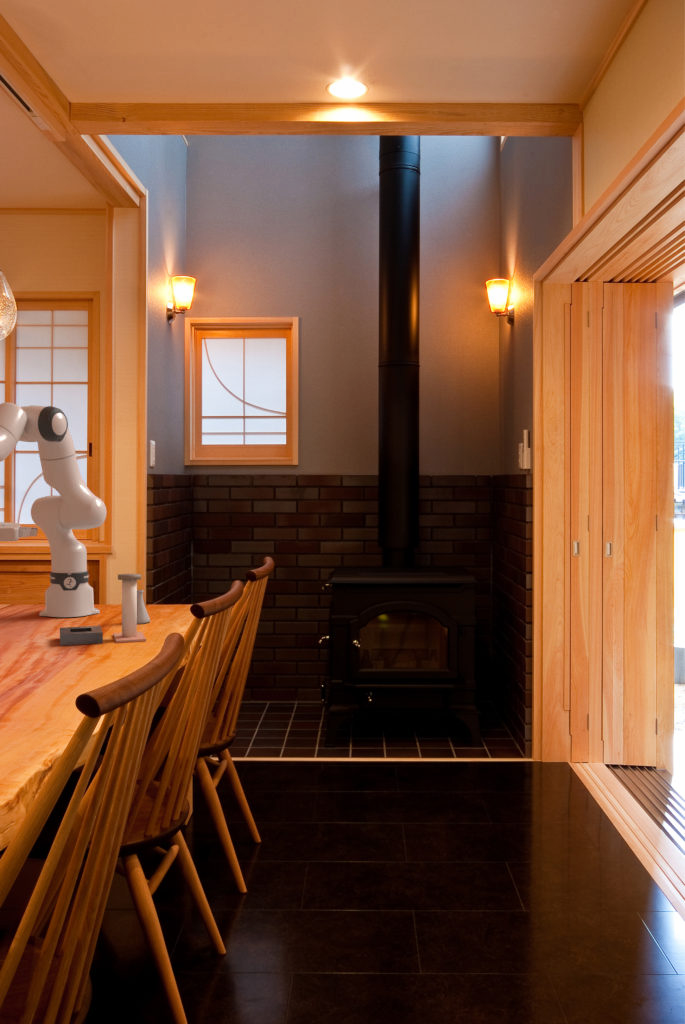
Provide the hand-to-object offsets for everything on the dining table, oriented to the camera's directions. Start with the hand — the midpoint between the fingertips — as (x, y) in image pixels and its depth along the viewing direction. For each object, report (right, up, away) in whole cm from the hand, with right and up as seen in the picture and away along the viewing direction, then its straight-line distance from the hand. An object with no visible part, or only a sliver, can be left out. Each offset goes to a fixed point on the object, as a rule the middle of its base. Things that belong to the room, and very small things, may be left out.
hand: (37, 531), depth 241 cm
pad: (+25, -30, +3) cm, 39 cm away
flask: (+21, -29, +30) cm, 47 cm away
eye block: (+12, -30, -1) cm, 33 cm away
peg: (+25, -29, +3) cm, 38 cm away
